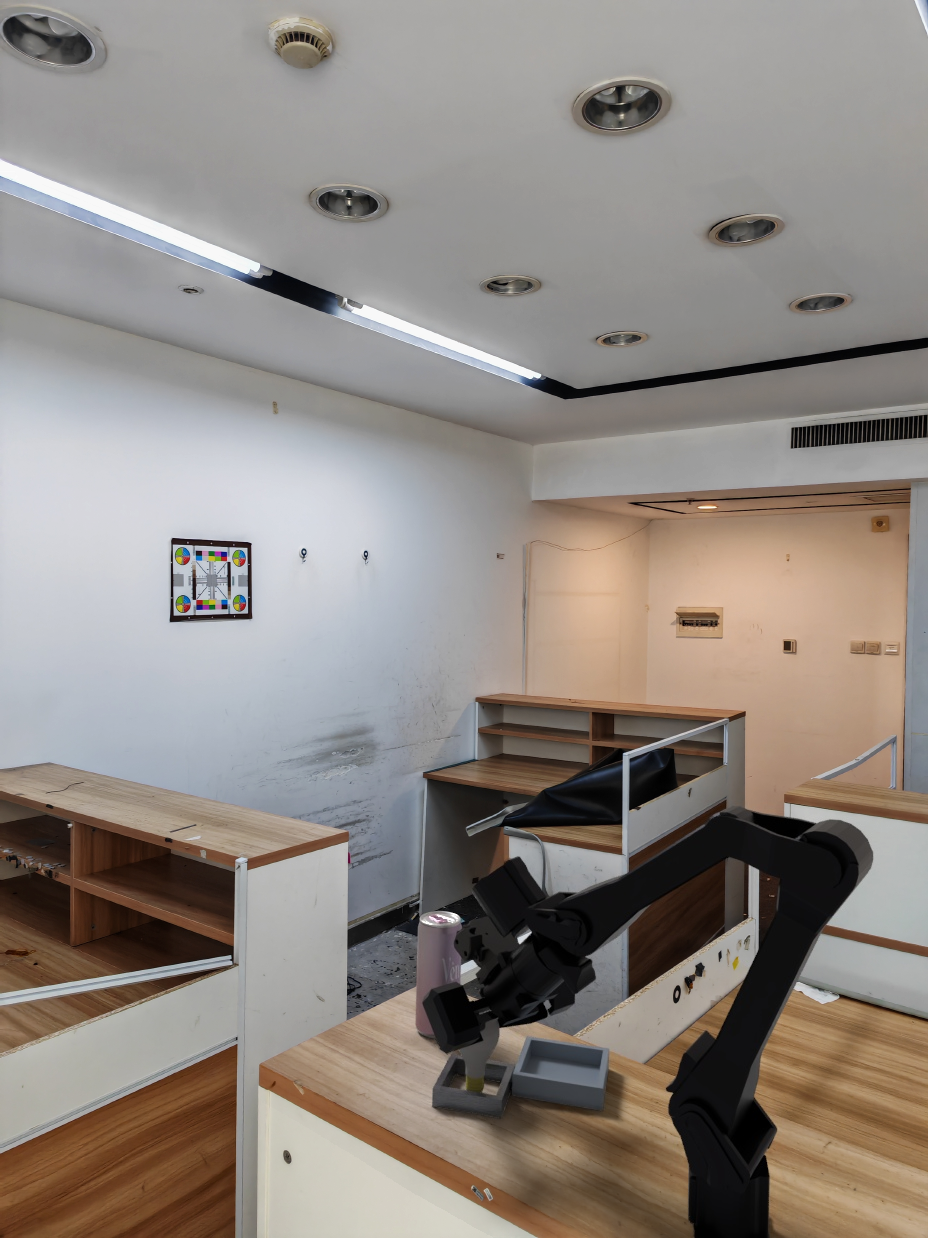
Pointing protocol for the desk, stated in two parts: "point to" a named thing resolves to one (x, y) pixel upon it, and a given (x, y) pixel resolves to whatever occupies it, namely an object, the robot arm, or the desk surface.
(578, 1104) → the parts tray
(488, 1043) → the light bulb
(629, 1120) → the desk surface
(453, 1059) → the frame
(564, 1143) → the desk surface
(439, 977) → the beverage can
